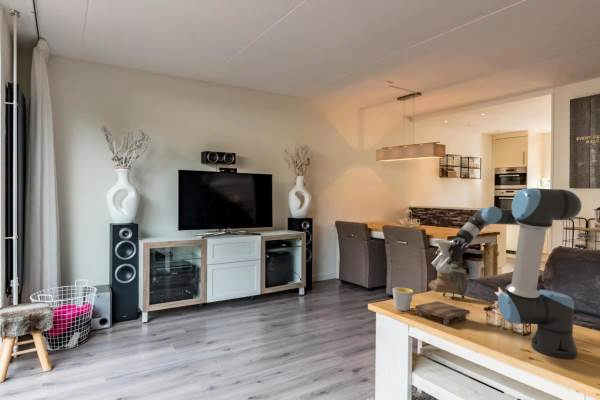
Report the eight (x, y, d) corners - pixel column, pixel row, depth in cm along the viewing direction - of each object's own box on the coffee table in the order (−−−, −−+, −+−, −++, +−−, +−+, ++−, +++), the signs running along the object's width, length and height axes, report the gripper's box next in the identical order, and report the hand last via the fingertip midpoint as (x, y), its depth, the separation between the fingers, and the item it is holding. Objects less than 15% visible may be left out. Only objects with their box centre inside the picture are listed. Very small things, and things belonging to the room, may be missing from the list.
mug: (402, 313, 190) (403, 293, 190) (387, 308, 199) (388, 288, 198) (420, 310, 197) (421, 290, 197) (405, 304, 206) (406, 285, 206)
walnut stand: (469, 320, 183) (469, 310, 183) (447, 327, 173) (447, 316, 173) (437, 310, 198) (437, 301, 198) (415, 315, 187) (415, 305, 187)
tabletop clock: (466, 298, 224) (468, 256, 224) (466, 302, 216) (468, 258, 216) (440, 294, 230) (442, 254, 230) (439, 298, 222) (441, 256, 221)
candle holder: (458, 293, 180) (460, 243, 179) (435, 292, 180) (437, 242, 179) (450, 287, 191) (451, 240, 190) (428, 286, 191) (430, 239, 190)
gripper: (485, 241, 179) (454, 276, 175) (458, 236, 198) (430, 268, 194) (476, 230, 178) (445, 265, 174) (450, 226, 196) (421, 257, 193)
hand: (437, 266), depth 184 cm, fingers closed on candle holder, 6 cm apart
